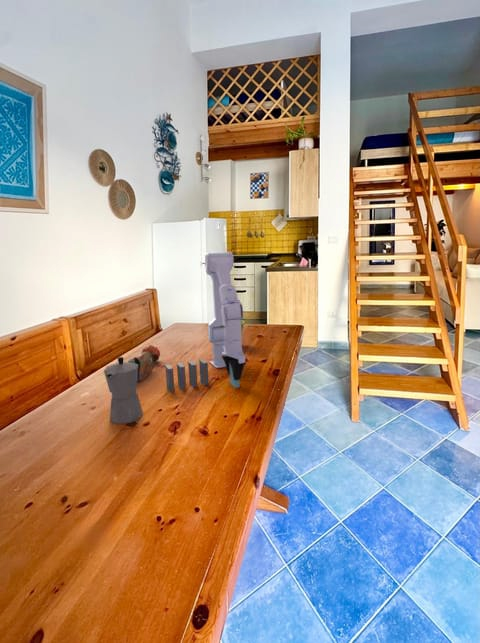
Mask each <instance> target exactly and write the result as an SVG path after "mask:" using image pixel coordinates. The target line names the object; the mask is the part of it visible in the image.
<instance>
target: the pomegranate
mask: <svg viewBox="0 0 480 643" xmlns="http://www.w3.org/2000/svg"><path fill="white" fill-rule="evenodd" d="M147 351H149V352H151V354H152V356H153V363H155V362H157V361H159V359H160V356H161V351H160V349H159V348H158V347H157V346H154V345H151V344H150V345H148V346H145V347H144V348H143V349H142V350H141V352H147Z"/></svg>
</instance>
